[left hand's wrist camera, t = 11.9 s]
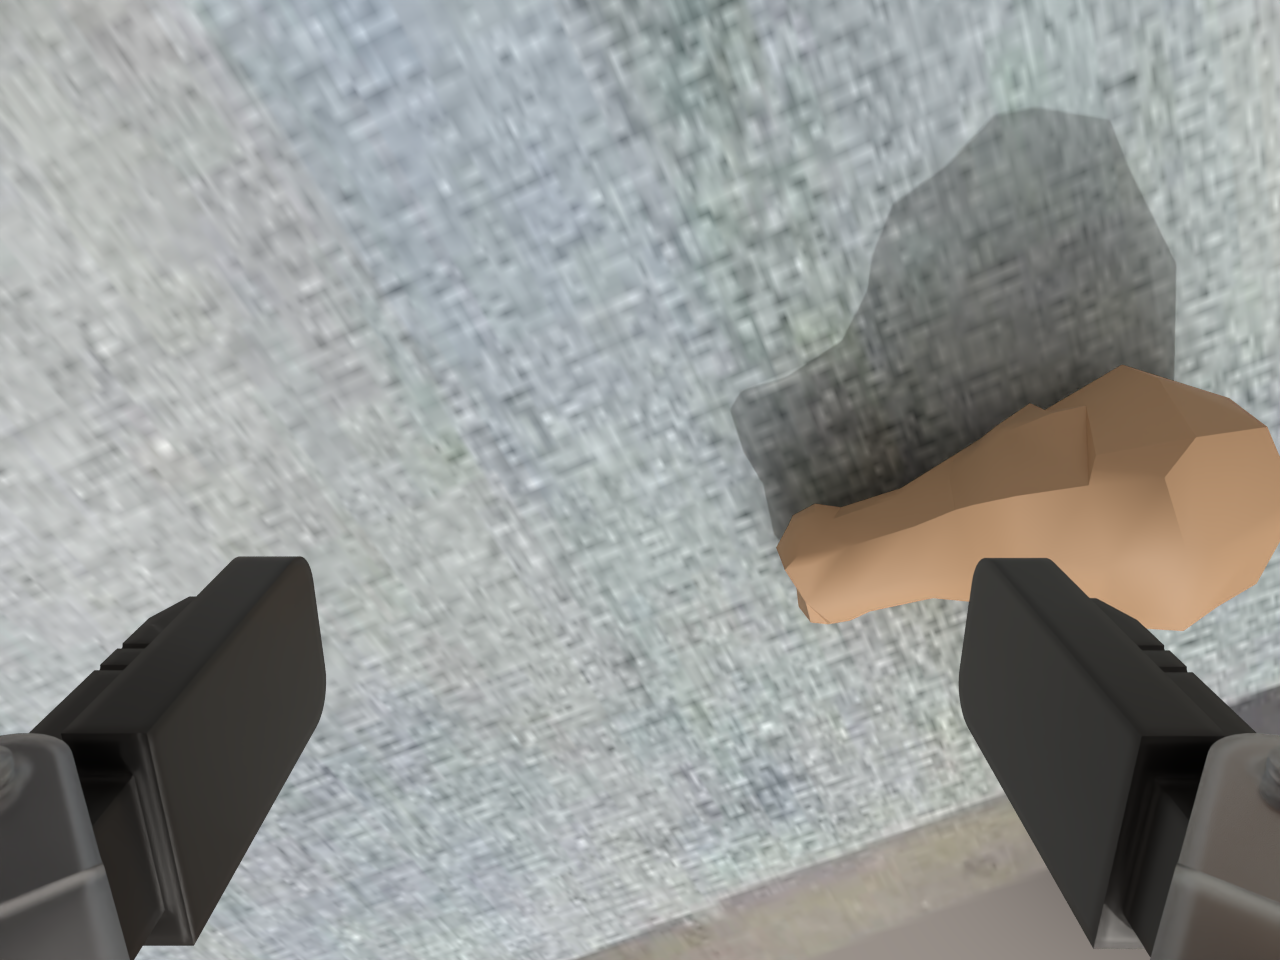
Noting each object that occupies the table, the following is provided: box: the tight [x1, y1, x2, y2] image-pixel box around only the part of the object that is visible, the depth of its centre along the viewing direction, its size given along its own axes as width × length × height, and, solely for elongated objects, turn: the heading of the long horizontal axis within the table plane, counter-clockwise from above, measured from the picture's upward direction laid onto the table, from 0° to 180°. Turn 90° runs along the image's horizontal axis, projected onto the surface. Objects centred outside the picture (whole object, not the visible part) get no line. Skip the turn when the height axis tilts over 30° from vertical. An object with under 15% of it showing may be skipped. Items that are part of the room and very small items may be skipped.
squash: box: [776, 365, 1280, 631], centre depth 38 cm, size 11×20×9 cm, turn 111°
